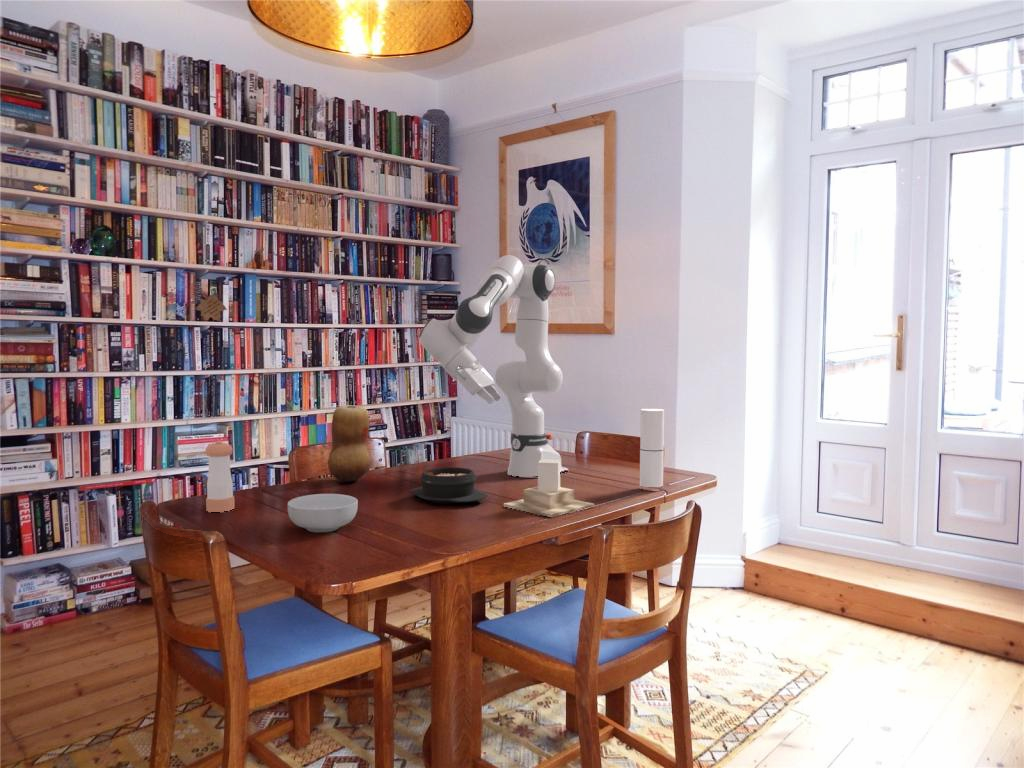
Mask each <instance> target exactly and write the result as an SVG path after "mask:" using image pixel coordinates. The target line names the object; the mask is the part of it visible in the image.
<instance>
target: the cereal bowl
mask: <svg viewBox="0 0 1024 768" xmlns="http://www.w3.org/2000/svg"><path fill="white" fill-rule="evenodd" d="M358 507H359V501H358V498H356V497H354V496H351V495H348V494H340V493H316V494H307V495H301V496H298V497H295V498H294V497H293V498H292V499H289V501H288V502H287V513H288V516H289V517H288V518H289V519H290V521H291V522H293V523H294V524H295V525H296V526H297V527H300V528H304V529H306V530H307V531H308V532H311V533H329V532H334V531H336V530H339V529H340V528H341V527H343V526H346V525H348V524H349V523H351V522H352V521H353V520H354V518H355V517H356V515H357V513H358Z"/></svg>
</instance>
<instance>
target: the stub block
mask: <svg viewBox="0 0 1024 768" xmlns="http://www.w3.org/2000/svg"><path fill="white" fill-rule="evenodd" d="M503 506H504V507H503ZM589 506H594V507H595V503H592V502H587V501H583V500H578V499H575V489H573V488H568V487H562V486H560V489H559V491H558V492H546V491H538V486H534V487H530V488H525V489H523V498H522V499H518V500H513V501H509V502H503V505H502V507H503V508H505V507H508V508H507V509H510V508H512V509H511V510H514V509H517V510H516V511H518V510H521V511H520V512H522V511H526V512H530V513H534V514H533V515H535V514H538V515H537V516H539V515H543V516H547V517H555V516H558V515H562V514H565V513H569V512H573V511H576V510H579V509H582V508H586V507H589ZM526 512H525V513H526ZM530 513H529V514H530ZM543 516H542V517H543ZM547 517H546V518H547ZM555 518H556V517H555Z"/></svg>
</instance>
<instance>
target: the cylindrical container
mask: <svg viewBox="0 0 1024 768" xmlns="http://www.w3.org/2000/svg"><path fill="white" fill-rule="evenodd" d="M664 430H665V409H661V408H641V409H640V431H639V433H640V435H639V436H640V439H639V440H640V442H639V445H640V448H639V452H640V453H639V487H640V486H643V487H661V486H663V487H664V445H665V444H664V442H665V441H664V439H665V438H664V437H665V436H664V434H665V431H664Z"/></svg>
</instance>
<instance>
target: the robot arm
mask: <svg viewBox="0 0 1024 768" xmlns="http://www.w3.org/2000/svg"><path fill="white" fill-rule="evenodd" d="M555 285H556V275H555V272H554V270H553V269H552V268H551V267H550V266H549V265H545V264H527V263H525V264H523V262H522V261H521V259H519V258H518V257H517V256H514V255H512V254H507V255H503V256H500V257H499V258H498V259H497V260H495V261H494V262H493V263H492V264H491V265H490V266H489V268H488V269H487V270H485V272H484V273H483V275H482V276H481V278H480V281H479V282H478V285H477V292H476V294H474V295H472V296H470V297H467V298H465V299H463V300H462V301H460V303H459V305H458V307H457V310H456V312H455V313H454V315H453V316H452V318H450V319H445V320H444V319H443V320H442V319H440V320H439V319H436V318H431V319H429V320H428V321H427V323H425V325H424V326H423V328H422V329H421V330H420V332H419V334H418V340H419V342H420V344H421V345H422V347H423V348H424V349H425V350H426V352H427V353H428V354H429V355H430V356H431V357H432V358H433V359H434V360H436V361H437V362H439V364H440V365H441V366H442V368H443V369H444V371H445V372H447V374H448V375H449V376H450V377H451V378H452V379H453V380H454V381H455V382H457V381H459V383H460V384H461V385H462V387H464V389H465V390H466V391H467V392H468V393H469V394H471V396H476V395H478V396H479V397H481V399H484V400H485V401H486V402H487V403H488V404H489V405H492V404H493V403H494V402H495V401H496V402H498V401H500V400H501V399H502V395H501V394H500V393H498V390H497V389H496V388H495V387H494V385H495V384H496V385H497V387H498V388H499V389H500V390H501V391H502V392H503V393H504V395H505V398H507V401H508V403H509V408H510V413H511V427H512V428H511V431H512V432H511V434H510V444H511V448H510V453H509V454H510V455H509V463H508V467H507V475H508V476H511V475H512V477H516V476H519V477H518V478H534V477H533V476H538V462H539V461H540V460H541V459H549V460H560V472H561V471H564V470H568V471H569V468H568V467H565V466H562V457H561V454H560V453H559V452H557V451H556V450H555V449H554V448H553V447H552V446H550V445H549V441H551V440H553V438H554V436H553V434H552V433H545V412H544V409H543V408H542V407H541V406H539V405H538V404H537V403H536V402H535V399H534V397H533V394H535V395H546V394H547V395H549V394H552V393H553V394H554V393H557V392H558V391H559V390H560V389H561V387H562V385H563V380H564V376H563V372H562V371H563V370H562V369H561V367H560V366H559V365H558V364H557V363H556V361H554V360H553V358H552V356H551V353H550V349H549V344H548V337H549V319H550V318H549V317H550V315H549V314H550V313H549V301H548V299H549V298H550V297H549V296H551V295H552V293H553V291H554V289H555ZM510 298H512V299H519V303H518V307H517V311H516V312H517V313H516V323H515V334H514V342H515V344H516V346H517V347H518V348H519V349H521V350H523V353H524V354H525V355H524V356H525V361H523V360H520V361H519V360H512V361H506V362H503V363H500V364H499V365H498V367H497V368H496V369H495V374H494V379H495V380H494V379H493V377H492V376H491V374H489V373H488V371H487V369H485V368H484V366H483V365H481V364H480V363H481V360H480V359H478V358H477V357H476V355H474V354H473V353H472V352H471V351H470V350H469V349H471V348H472V347H473V346H474V345H475V344H476V342H477V341H478V340H479V337H481V335H482V333H483V332H484V331H485V330H486V329H487V328H488V326H490V324H491V322H492V319H493V310H494V307H495V306H502V305H504V304H505V303H506V302H507V301H509V299H510ZM548 440H549V441H548Z"/></svg>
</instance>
